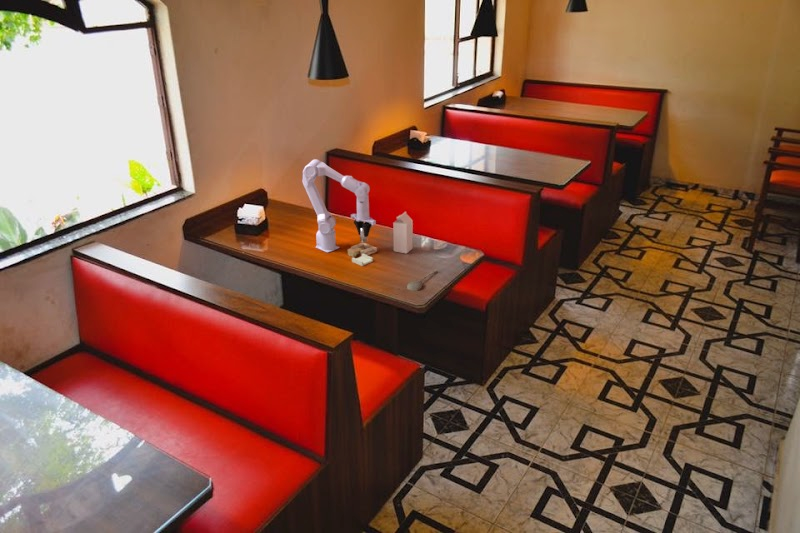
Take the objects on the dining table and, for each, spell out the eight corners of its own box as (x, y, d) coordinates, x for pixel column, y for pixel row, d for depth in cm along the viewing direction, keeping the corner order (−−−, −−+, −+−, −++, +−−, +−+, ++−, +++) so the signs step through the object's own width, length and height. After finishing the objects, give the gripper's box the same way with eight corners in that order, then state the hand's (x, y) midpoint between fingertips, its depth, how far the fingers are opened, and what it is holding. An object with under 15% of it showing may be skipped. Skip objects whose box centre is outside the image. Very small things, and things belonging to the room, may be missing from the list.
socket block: (351, 250, 308) (351, 246, 307) (363, 245, 313) (362, 242, 312) (365, 256, 302) (365, 252, 301) (377, 251, 307) (377, 247, 306)
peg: (359, 240, 305) (358, 227, 302) (363, 239, 307) (363, 225, 304) (363, 242, 303) (363, 229, 300) (368, 240, 305) (368, 227, 302)
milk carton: (412, 248, 310) (412, 212, 302) (406, 254, 304) (406, 217, 296) (399, 246, 313) (399, 210, 305) (393, 251, 307) (393, 215, 299)
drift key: (347, 255, 303) (347, 249, 302) (357, 251, 307) (357, 245, 306) (353, 257, 301) (353, 251, 299) (363, 253, 305) (363, 247, 303)
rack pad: (351, 261, 296) (351, 257, 295) (362, 257, 301) (362, 253, 300) (362, 266, 292) (362, 262, 291) (372, 261, 296) (372, 257, 296)
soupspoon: (403, 290, 272) (416, 295, 269) (403, 284, 270) (416, 288, 267) (430, 270, 288) (442, 274, 285) (430, 264, 287) (443, 268, 283)
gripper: (346, 207, 300) (346, 233, 305) (368, 214, 291) (368, 241, 297) (356, 203, 305) (357, 229, 310) (378, 210, 296) (378, 237, 302)
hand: (363, 235), depth 304 cm, fingers closed on peg, 3 cm apart
